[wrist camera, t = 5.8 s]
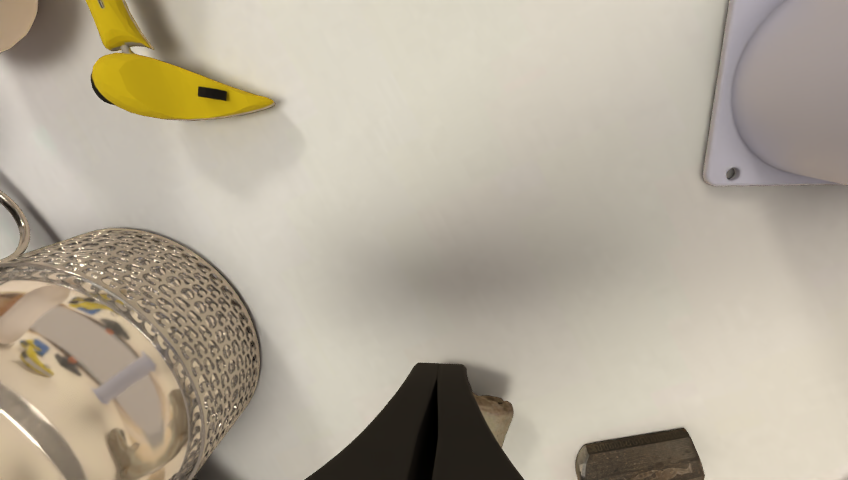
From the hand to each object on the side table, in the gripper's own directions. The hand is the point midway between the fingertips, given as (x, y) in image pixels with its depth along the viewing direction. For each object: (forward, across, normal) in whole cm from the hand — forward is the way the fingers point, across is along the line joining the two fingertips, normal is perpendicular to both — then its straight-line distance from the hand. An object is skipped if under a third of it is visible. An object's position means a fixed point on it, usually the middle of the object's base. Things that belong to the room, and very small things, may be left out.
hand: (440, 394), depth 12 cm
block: (+10, -9, +10) cm, 17 cm away
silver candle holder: (+9, +19, +3) cm, 21 cm away
